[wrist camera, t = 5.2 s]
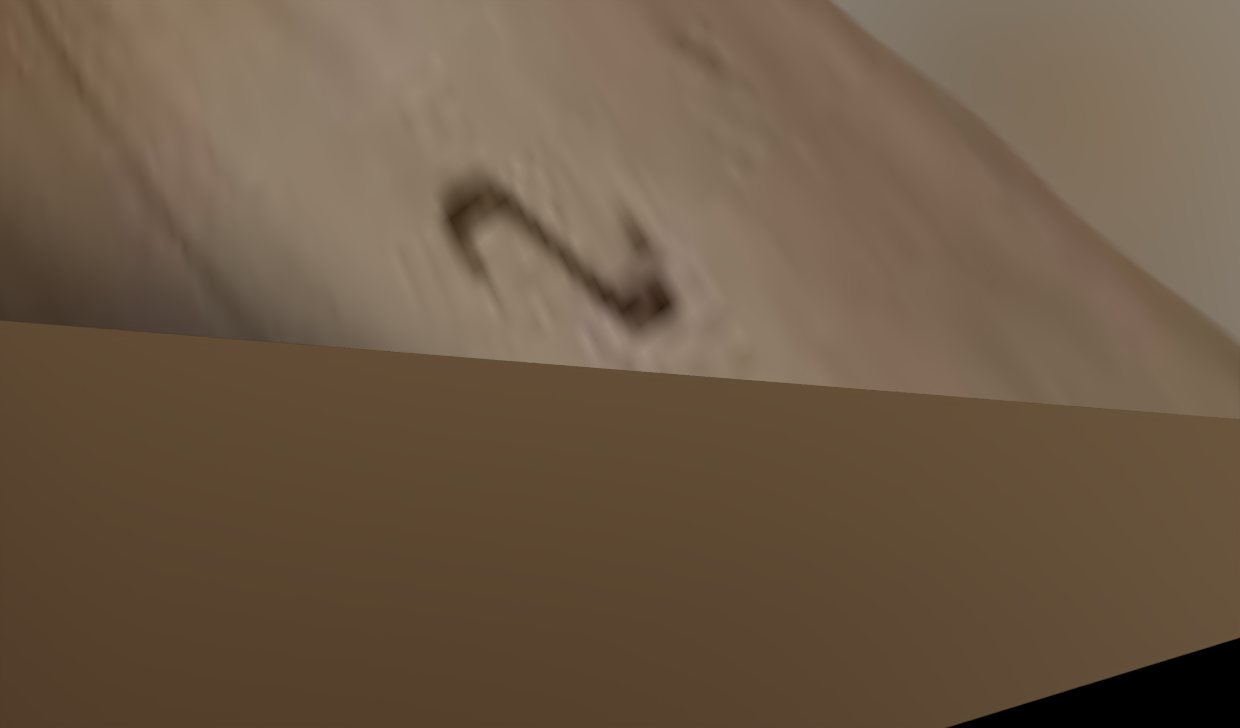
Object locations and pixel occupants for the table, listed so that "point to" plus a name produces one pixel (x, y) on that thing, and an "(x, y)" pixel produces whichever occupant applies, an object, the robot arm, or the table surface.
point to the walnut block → (591, 547)
